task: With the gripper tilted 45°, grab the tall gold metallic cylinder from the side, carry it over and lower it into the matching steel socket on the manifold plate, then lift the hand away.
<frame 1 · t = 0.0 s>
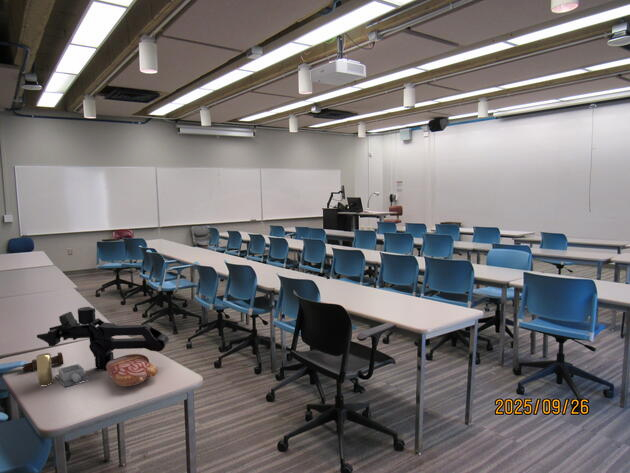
hand: (43, 332, 185), 17 cm above the table, tool horizontal, fingers open, 9 cm apart
manifold: (71, 377, 179), on the table
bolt: (43, 368, 189), on the table
gold metallic cylinder: (45, 384, 172), on the table
anatomical model: (131, 378, 178), on the table
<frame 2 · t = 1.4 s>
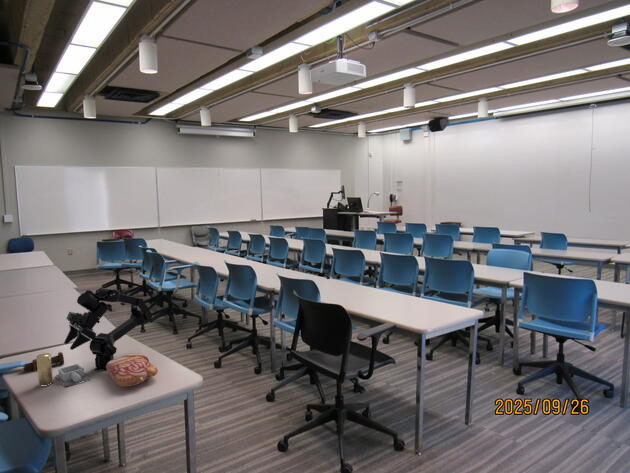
hand: (67, 346, 177), 13 cm above the table, tool tilted 45°, fingers open, 9 cm apart
nothing on the table moved.
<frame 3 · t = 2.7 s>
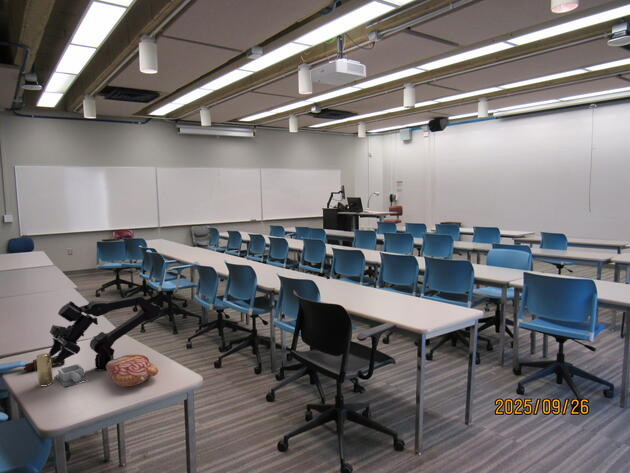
hand: (50, 360, 173), 9 cm above the table, tool tilted 45°, fingers open, 9 cm apart
nothing on the table moved.
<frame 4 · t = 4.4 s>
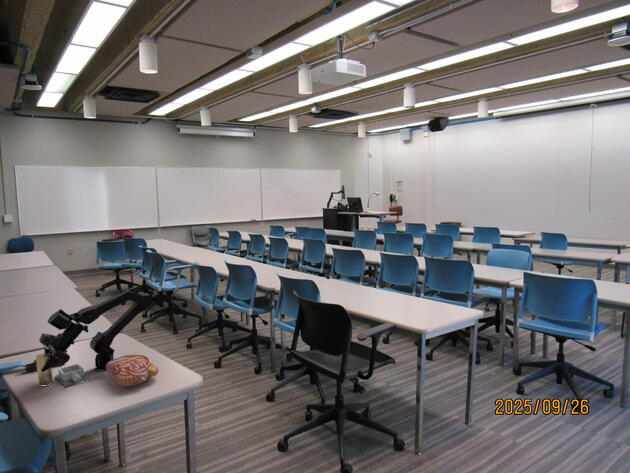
hand: (40, 369, 171), 7 cm above the table, tool tilted 45°, fingers closed on gold metallic cylinder, 5 cm apart
gold metallic cylinder: (45, 384, 172), on the table, touching gripper
everything else where it was.
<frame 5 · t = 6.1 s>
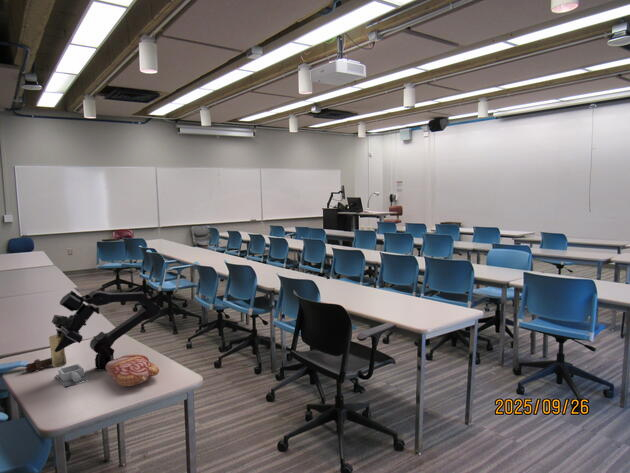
hand: (53, 350, 173), 13 cm above the table, tool tilted 45°, fingers closed on gold metallic cylinder, 5 cm apart
gold metallic cylinder: (59, 364, 175), point 7 cm above the table, touching gripper
when the fingers open (9 cm above the table, at t = 8.0 s): gold metallic cylinder drops 1 cm, resting on manifold.
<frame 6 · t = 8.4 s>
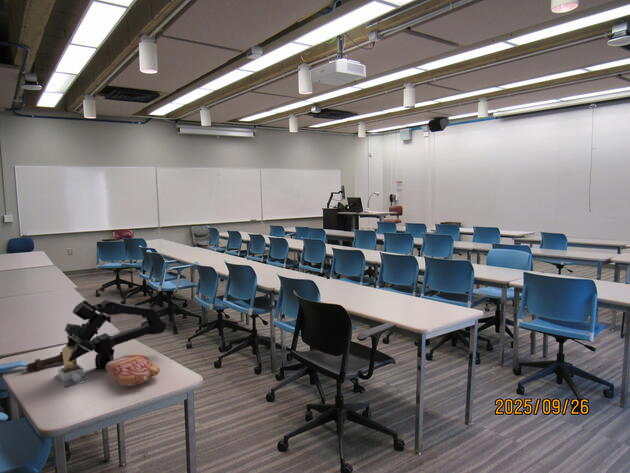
hand: (66, 358, 177), 9 cm above the table, tool tilted 45°, fingers open, 9 cm apart
gold metallic cylinder: (71, 375, 179), point 1 cm above the table, touching manifold
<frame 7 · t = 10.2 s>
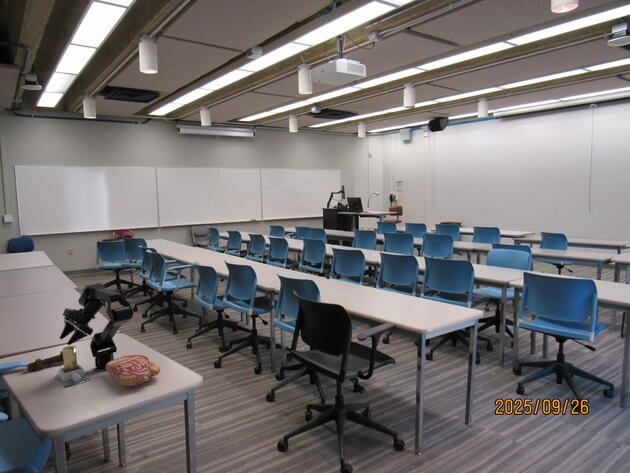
hand: (64, 341, 181), 14 cm above the table, tool tilted 45°, fingers open, 9 cm apart
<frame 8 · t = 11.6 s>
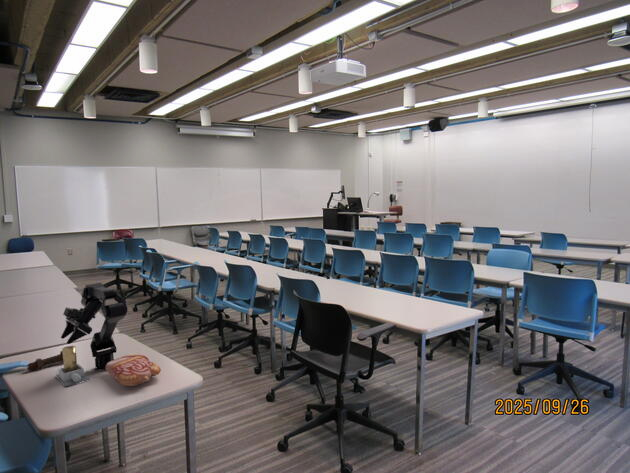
hand: (64, 340, 183), 14 cm above the table, tool tilted 45°, fingers open, 9 cm apart
at the end: gold metallic cylinder 0.1 cm off-centre on the manifold, point 0.6 cm above the manifold's base; gold metallic cylinder tilted 1°; the gripper is holding nothing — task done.
